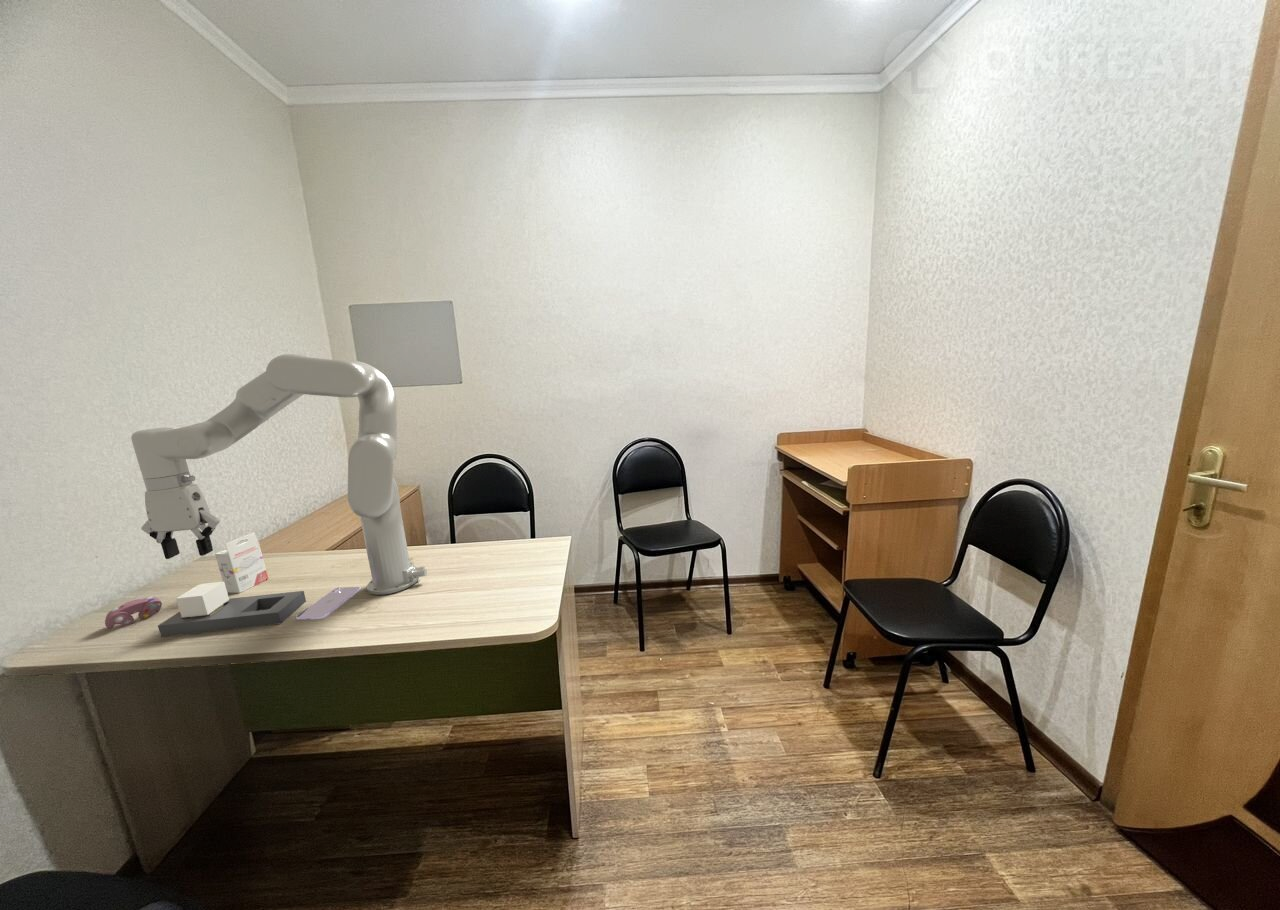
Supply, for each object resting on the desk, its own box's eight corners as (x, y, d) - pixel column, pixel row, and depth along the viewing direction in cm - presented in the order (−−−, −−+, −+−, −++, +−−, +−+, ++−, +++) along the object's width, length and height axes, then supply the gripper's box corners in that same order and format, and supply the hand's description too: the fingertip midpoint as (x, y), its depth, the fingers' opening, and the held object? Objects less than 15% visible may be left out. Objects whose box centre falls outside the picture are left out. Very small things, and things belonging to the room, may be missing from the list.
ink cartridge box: (255, 578, 137) (243, 531, 134) (269, 578, 136) (257, 531, 133) (224, 593, 129) (210, 543, 126) (239, 593, 128) (225, 543, 125)
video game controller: (110, 638, 112) (106, 617, 109) (103, 626, 114) (99, 606, 111) (166, 617, 121) (163, 598, 118) (159, 606, 122) (156, 587, 119)
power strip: (306, 601, 121) (303, 588, 121) (281, 623, 111) (277, 610, 111) (197, 613, 119) (193, 600, 118) (161, 637, 109) (156, 623, 108)
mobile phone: (292, 617, 113) (335, 586, 127) (293, 621, 113) (336, 589, 128) (322, 616, 112) (362, 585, 127) (323, 620, 112) (363, 589, 127)
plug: (232, 612, 118) (224, 581, 116) (211, 628, 111) (202, 595, 109) (208, 614, 117) (199, 584, 116) (185, 631, 111) (175, 598, 109)
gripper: (222, 474, 111) (240, 544, 115) (141, 481, 109) (163, 552, 113) (197, 483, 104) (217, 557, 108) (110, 490, 102) (134, 565, 106)
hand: (189, 554), depth 110 cm, fingers open, 6 cm apart
